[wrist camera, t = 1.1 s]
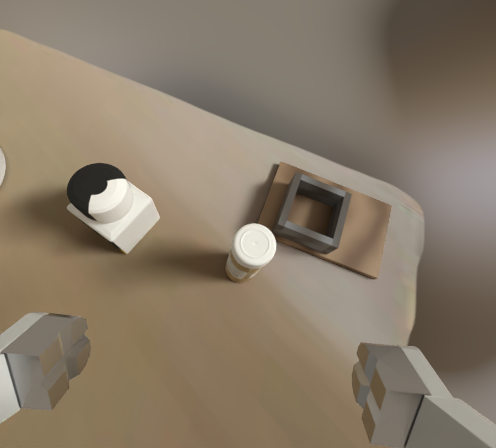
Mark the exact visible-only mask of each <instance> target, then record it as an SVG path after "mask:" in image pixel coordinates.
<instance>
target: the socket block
mask: <svg viewBox="0 0 496 448" xmlns="http://www.w3.org/2000/svg"><path fill="white" fill-rule="evenodd" d="M390 211H391V205H389V204H386V203H384V202H381V201H379V200H376V199H374V198H371V197H369V196H366V195H364V194H361V193H359V192H356V191H354V190H351V189H349V188H346V187H344V186H341V185H339V184H336V183H334V182H331V181H329V180H326V179H324V178H321V177H319V176H316V175H314V174H311V173H309V172H306V171H304V170H301V169H299V168H296V167H294V166H291V165H289V164H286V163H284V162H280V164H279V167H278V170H277V172H276V175H275V178H274V180H273V183H272V186H271V188H270V191H269V193H268V196H267V199H266V201H265V204H264V207H263V209H262V212H261V214H260V217H259V220H258V222H257V224H260V225H263V226H265V227H266V228H268V229H269V230H270V231H271V232H272V234H273V235H274V237H275V240H277V241H279V242H282V243H284V244H287V245H289V246H292V247H294V248H297V249H299V250H302V251H304V252H307V253H309V254H312V255H314V256H317V257H319V258H322V259H324V260H327V261H329V262H332V263H334V264H337V265H340V266H342V267H345V268H347V269H350V270H352V271H355V272H357V273H360V274H362V275H365V276H367V277H370V278H372V279H377V278H378V275H379V270H380V265H381V259H382V254H383V249H384V243H385V238H386V233H387V227H388V222H389V217H390Z"/></svg>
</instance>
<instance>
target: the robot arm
mask: <svg viewBox="0 0 496 448" xmlns="http://www.w3.org/2000/svg"><path fill="white" fill-rule="evenodd" d="M5 170H6V162H5V157H4V154H3V152H2V150H1V149H0V185H1V183H2V181H3V178H4V175H5ZM87 329H88V327H87V322H86V319H85V318H83V317H79V316H70V315H62V314H53V313H50V314H49V313H42V312H31V313H28V314H26V315H25V316H24V317H23V318H21V319H20V320H19V321H17V322H16V323H15V324H13V325H12V326H11V327H10V328H8V329H7V330H6V331H4V332H3V333H2V334H1V335H0V423H2V422H3V421H5V420H6V419H8V418H9V417H11V416H12V415H13V414H15V413H16V412H18V411H19V410H20V408H27V409H41V410H53V408H54V407H55V406H56V404H57V403H58V402H59V400H60V399H61V398H62V396H63V395H64V394H65V393H66V391H67V390H68V389H69V380H71V379H72V378H74V377H76V376H77V375H79V374H80V373H81V371H82V370H83V369H84V367H85V366H86V363H87V361H88V358H89V356H90V349H91V346H90V340H89V339H88V338H87V337H86V336H85V335H84V333H85V331H86V330H87ZM357 356H358V358H359V362H358V363H356V364H355V365H354V367H353V372H352V387H353V393H354V396H355V399H356V402H357V403H358V404H359V405H360V406H361V407H362V408H363V409H364V410H363V414H362V421H363V424H364V427H365V430H366V433H367V436H368V439H369V442H370V444H374V445H382V446H389V447H396V448H496V425H495V424H494V423H493V422H491V421H490V420H488V419H487V418H486V417H484V416H483V415H481V414H480V413H479V412H477V411H476V410H474V409H473V408H472V407H470V406H469V405H468V404H466V403H465V402H463V401H462V400H461V399H458V398H453V397H452V396H451V394H450V393H449V392H448V390H447V388H446V387H445V386H444V384H443V383H442V381H441V380H440V378H439V377H438V376H437V374H436V373H435V371H434V370H433V369H432V367H431V366H430V364H429V363H428V361H427V360H426V358H425V357H424V356H423V354H422V353H421V351H420V350H419V349H418V348H416V347H413V346H400V345H397V346H395V345H383V344H371V343H360V345H359V346H358V350H357Z"/></svg>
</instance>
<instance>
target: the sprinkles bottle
mask: <svg viewBox="0 0 496 448" xmlns="http://www.w3.org/2000/svg"><path fill="white" fill-rule="evenodd" d="M275 251H276V240H275V237H274V235H273V234H272V232H271V231H270V230H269V229H268V228H266V227H265V226H263V225H260V224H255V223H253V224H247V225H245V226H243V227H241V228H240V229H239V230H238V231H237V232H236V234H235V236H234V238H233V241H232V247H231V250H230V253H229V257H228V260H227V262H226V267H225V268H226V273H227V275H228V277H229V278H230V279H231V280H233V281H235V282H237V283H245V282H248V281H249V280H251V279H252V278H253V277H254V275H255V274H256V273H257V272H258V271H259V270H260V268H261V267H263V266H265V265H266V264H267V263H268V262H269V261H270V260H271V259H272V258H273V256H274V254H275Z"/></svg>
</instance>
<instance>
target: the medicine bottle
mask: <svg viewBox="0 0 496 448" xmlns="http://www.w3.org/2000/svg"><path fill="white" fill-rule="evenodd" d="M67 195H68V198H69V200H70V202H71V203H70V204H69V205H68V206H67V209H68V211H70V212H71V213H72V214H73V215H75V216H76V217H77V218H78V219H79V220H81V221H82V222H83V223H84V224H86V225H87V226H88V227H89V228H91V229H92V230H93V231H95V232H96V233H97V234H99V235H100V236H101V237H103V238H104V239H105V240H107V241H108V242H109V243H111V244H112V245H113V246H115V247H116V248H117V249H119V250H120V251H121V252H123V253H124V254H128V253H129V252H130V251H131V250H132V249H133V248H134V246H135V245H136V244H137V243H138V242H139V241H140V240H141V239H142V238H143V237H144V235H145V234H146V233H147V232H148V231H149V230H150V229H151V228H152V227H153V226H154V224H155V223H156V222H157V221H158V220H159V219H160V216H159V214H158V212H157V210H156V207H155V205H154V203H153V200H152V198H151V197H149V196H148V195H146V194H145V193H144V192H142V191H141V190H139V189H138V188H137V187H135V186H134V185H133V184H131V183H130V182H128V181H127V180H126V178H125V176H124V174H123V173H122V172H121V171H120V170H119V169H118V168H116V167H114V166H112V165H109V164H104V163H95V164H90V165H87V166H85V167H83V168H81V169H79V170H78V171H77V172H76V173H75V174H74V175H73V176H72V177H71V179H70V181H69V183H68V186H67Z"/></svg>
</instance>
